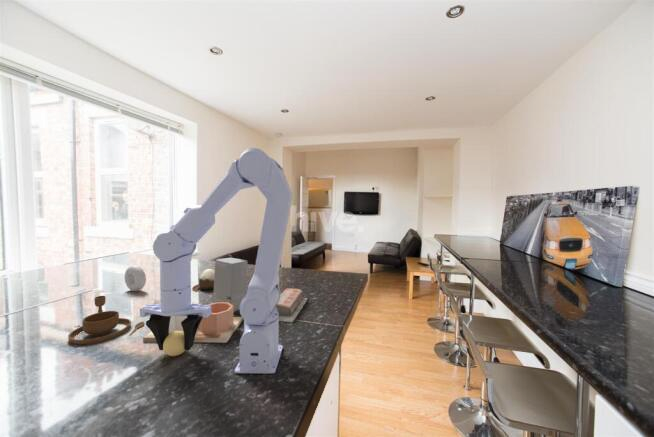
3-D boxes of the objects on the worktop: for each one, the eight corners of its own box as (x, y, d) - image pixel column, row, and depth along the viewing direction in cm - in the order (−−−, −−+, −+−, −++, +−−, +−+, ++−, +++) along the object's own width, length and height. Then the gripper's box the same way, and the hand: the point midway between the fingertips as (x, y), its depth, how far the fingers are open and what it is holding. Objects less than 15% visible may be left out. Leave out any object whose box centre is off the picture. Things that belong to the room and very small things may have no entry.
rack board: (226, 342, 60) (226, 338, 60) (143, 341, 60) (143, 337, 60) (242, 320, 72) (242, 316, 72) (173, 319, 72) (173, 315, 72)
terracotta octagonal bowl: (225, 334, 62) (225, 314, 62) (193, 333, 62) (193, 314, 62) (236, 320, 70) (236, 302, 70) (208, 319, 70) (208, 302, 70)
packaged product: (280, 286, 91) (307, 288, 89) (280, 299, 91) (307, 301, 89) (260, 304, 73) (293, 307, 71) (259, 321, 73) (292, 324, 72)
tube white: (185, 333, 62) (184, 313, 62) (153, 333, 62) (153, 313, 62) (200, 319, 70) (200, 302, 70) (172, 319, 70) (172, 301, 70)
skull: (194, 281, 106) (211, 263, 108) (213, 296, 108) (230, 278, 109) (185, 289, 94) (205, 268, 96) (207, 306, 96) (226, 285, 98)
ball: (181, 361, 53) (181, 337, 53) (157, 360, 53) (157, 337, 53) (193, 348, 58) (193, 326, 58) (172, 347, 58) (171, 326, 58)
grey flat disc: (122, 290, 97) (122, 264, 96) (132, 288, 100) (132, 263, 99) (138, 294, 93) (138, 267, 92) (148, 291, 96) (147, 265, 95)
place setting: (37, 352, 56) (36, 326, 56) (95, 315, 76) (95, 295, 76) (128, 343, 61) (127, 319, 60) (161, 310, 80) (160, 292, 80)
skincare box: (211, 309, 80) (211, 260, 80) (230, 301, 87) (229, 256, 86) (230, 314, 76) (230, 263, 76) (248, 306, 83) (248, 259, 82)
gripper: (217, 282, 59) (217, 338, 59) (155, 281, 59) (155, 338, 59) (202, 292, 52) (202, 356, 52) (131, 291, 52) (132, 355, 52)
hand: (176, 347), depth 55 cm, fingers closed on ball, 5 cm apart
